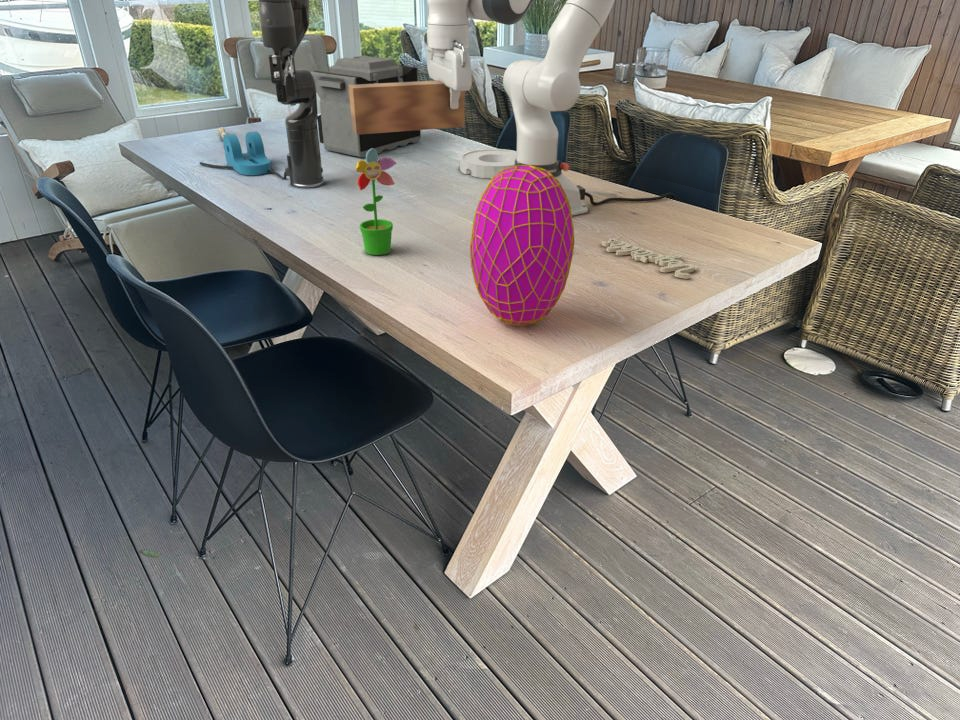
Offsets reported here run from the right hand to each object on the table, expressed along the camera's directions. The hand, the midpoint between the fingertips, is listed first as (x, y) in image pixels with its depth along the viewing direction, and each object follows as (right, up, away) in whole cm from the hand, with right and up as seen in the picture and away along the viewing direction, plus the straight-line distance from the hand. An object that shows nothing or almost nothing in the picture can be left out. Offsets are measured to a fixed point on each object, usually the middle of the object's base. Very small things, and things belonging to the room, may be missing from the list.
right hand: (449, 106), depth 155 cm
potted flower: (-18, -31, +12) cm, 38 cm away
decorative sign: (+48, -33, +10) cm, 59 cm away
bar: (-9, -5, -1) cm, 11 cm away
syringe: (-91, +27, +109) cm, 145 cm away
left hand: (-39, +5, +10) cm, 41 cm away
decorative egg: (+15, -49, -19) cm, 55 cm away
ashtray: (+12, +7, +77) cm, 78 cm away
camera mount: (-70, +7, +75) cm, 102 cm away
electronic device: (-34, +23, +103) cm, 111 cm away
